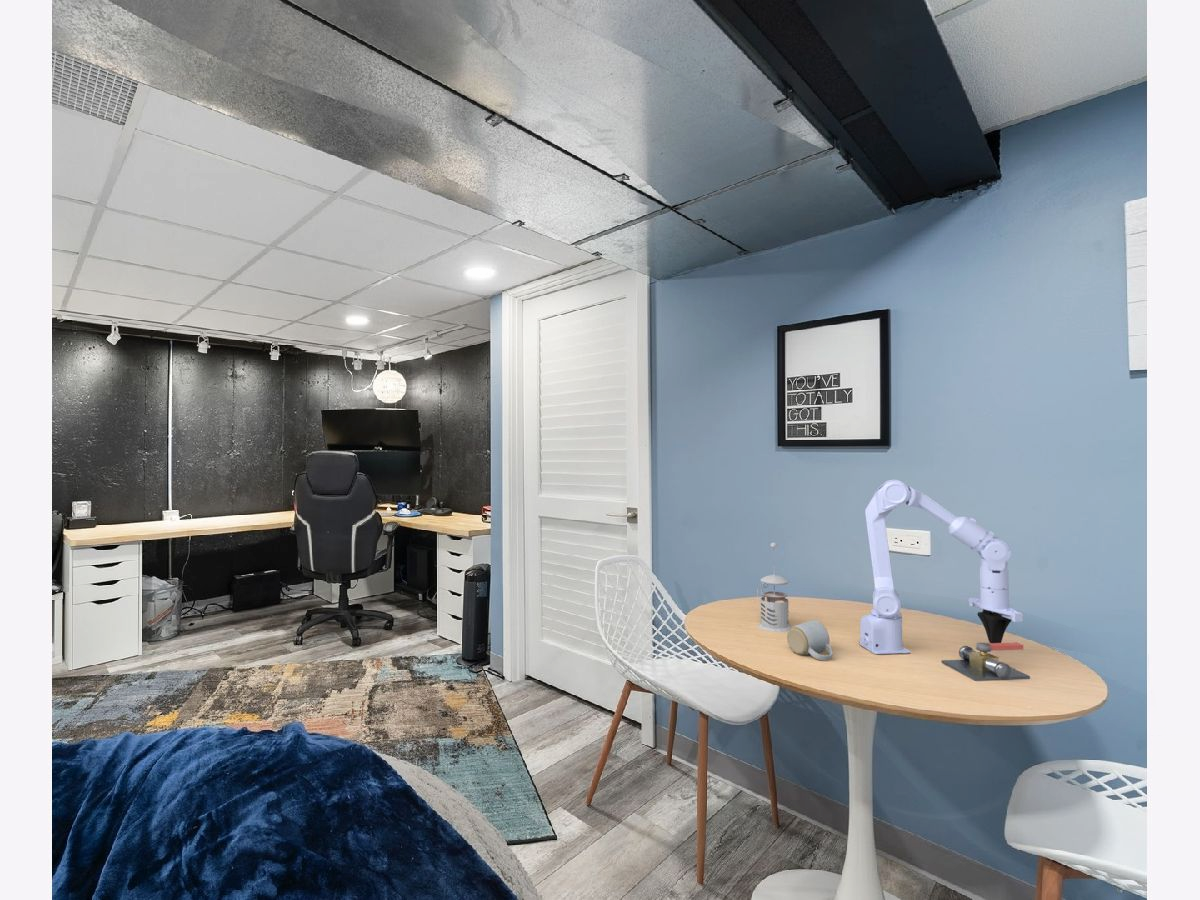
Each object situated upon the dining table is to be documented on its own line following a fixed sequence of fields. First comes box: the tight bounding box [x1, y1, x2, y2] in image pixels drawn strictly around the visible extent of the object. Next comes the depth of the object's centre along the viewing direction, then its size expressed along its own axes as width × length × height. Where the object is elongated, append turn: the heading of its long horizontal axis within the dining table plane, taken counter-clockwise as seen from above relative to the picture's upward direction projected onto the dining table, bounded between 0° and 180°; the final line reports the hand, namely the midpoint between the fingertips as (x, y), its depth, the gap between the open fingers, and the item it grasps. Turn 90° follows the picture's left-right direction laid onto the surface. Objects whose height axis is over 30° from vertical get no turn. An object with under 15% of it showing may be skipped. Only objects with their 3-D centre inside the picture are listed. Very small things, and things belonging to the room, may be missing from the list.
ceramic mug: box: [786, 619, 833, 662], centre depth 142 cm, size 11×8×8 cm
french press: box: [756, 542, 793, 633], centre depth 166 cm, size 10×12×25 cm
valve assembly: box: [941, 645, 1031, 682], centre depth 131 cm, size 12×13×4 cm
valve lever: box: [975, 642, 1024, 653], centre depth 131 cm, size 10×3×1 cm, turn 94°
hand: (995, 643), depth 136 cm, fingers closed
